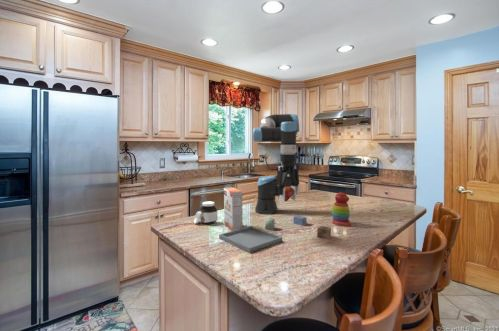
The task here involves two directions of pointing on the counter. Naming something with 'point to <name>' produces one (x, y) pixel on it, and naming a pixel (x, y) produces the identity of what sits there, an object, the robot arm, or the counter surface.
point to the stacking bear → (341, 210)
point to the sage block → (269, 224)
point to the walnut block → (324, 232)
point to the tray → (250, 238)
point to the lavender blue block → (299, 220)
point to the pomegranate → (288, 193)
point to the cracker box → (233, 208)
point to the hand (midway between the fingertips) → (287, 200)
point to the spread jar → (206, 213)
